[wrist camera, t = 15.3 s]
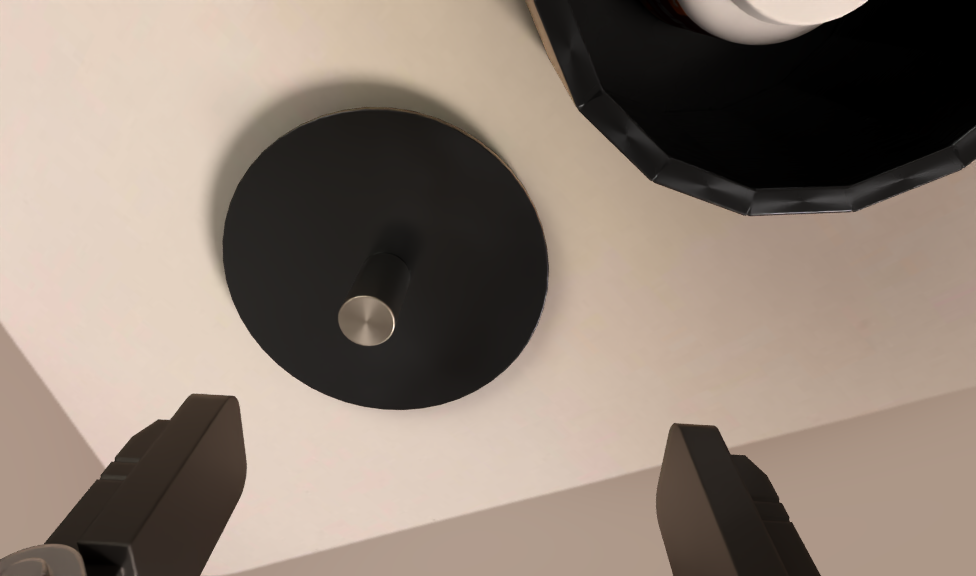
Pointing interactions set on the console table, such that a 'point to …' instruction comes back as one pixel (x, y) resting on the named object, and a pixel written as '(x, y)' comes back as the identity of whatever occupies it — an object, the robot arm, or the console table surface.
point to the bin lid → (386, 258)
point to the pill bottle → (750, 17)
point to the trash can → (776, 101)
